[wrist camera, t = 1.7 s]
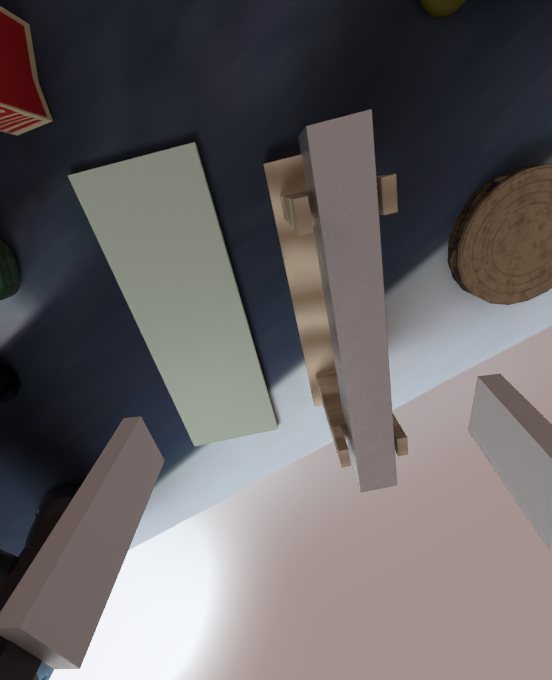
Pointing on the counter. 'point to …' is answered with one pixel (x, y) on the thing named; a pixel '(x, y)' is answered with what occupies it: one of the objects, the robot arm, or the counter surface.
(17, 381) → the supplement bottle
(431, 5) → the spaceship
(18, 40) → the milk carton
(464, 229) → the wooden log slice
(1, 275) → the coffee jar
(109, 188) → the sage mat
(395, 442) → the rail rack
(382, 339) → the steel rail
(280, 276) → the counter surface
